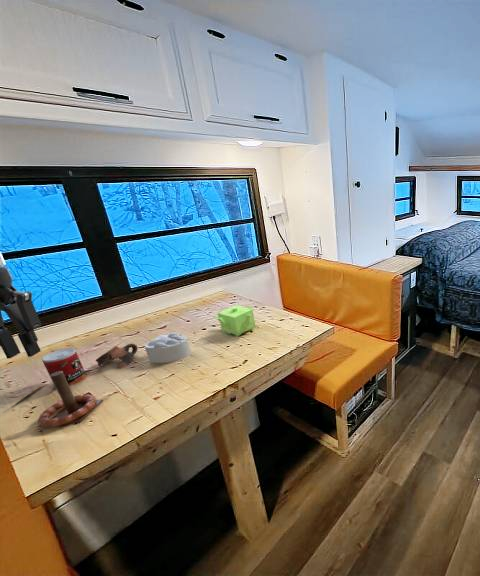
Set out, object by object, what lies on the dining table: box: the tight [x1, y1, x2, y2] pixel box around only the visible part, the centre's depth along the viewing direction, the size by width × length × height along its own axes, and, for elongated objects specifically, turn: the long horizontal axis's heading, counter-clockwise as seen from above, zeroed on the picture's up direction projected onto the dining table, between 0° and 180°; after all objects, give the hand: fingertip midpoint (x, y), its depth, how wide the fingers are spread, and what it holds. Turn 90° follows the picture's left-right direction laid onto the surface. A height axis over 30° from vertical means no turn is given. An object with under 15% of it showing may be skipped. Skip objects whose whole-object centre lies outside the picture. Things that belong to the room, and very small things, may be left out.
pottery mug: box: [95, 343, 138, 369], centre depth 111 cm, size 12×10×8 cm
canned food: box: [41, 347, 87, 387], centre depth 100 cm, size 8×8×11 cm
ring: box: [37, 393, 97, 428], centre depth 86 cm, size 12×12×2 cm
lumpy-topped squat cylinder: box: [144, 331, 192, 364], centre depth 114 cm, size 10×13×9 cm
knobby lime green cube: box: [214, 305, 256, 337], centre depth 132 cm, size 15×14×11 cm
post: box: [42, 371, 104, 428], centre depth 85 cm, size 9×9×14 cm
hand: (24, 354), depth 80 cm, fingers open, 4 cm apart
